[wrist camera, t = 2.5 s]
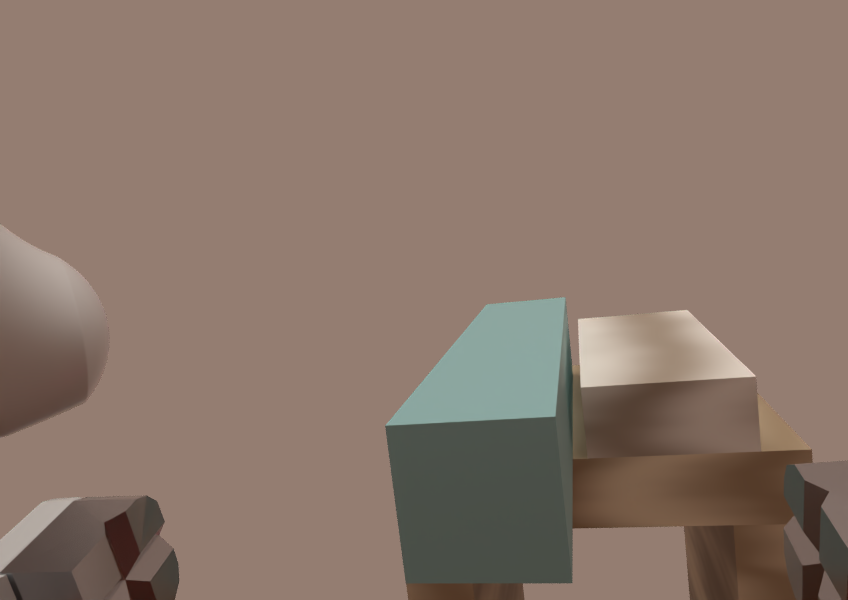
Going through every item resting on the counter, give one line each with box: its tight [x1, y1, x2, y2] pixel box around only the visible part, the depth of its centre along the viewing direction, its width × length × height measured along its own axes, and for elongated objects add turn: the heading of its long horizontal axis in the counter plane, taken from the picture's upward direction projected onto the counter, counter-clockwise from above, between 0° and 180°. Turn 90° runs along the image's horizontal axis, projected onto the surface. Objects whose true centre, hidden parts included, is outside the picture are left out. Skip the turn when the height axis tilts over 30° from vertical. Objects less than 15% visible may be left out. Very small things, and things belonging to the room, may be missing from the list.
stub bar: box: [385, 297, 573, 584], centre depth 26 cm, size 4×20×4 cm, turn 168°
